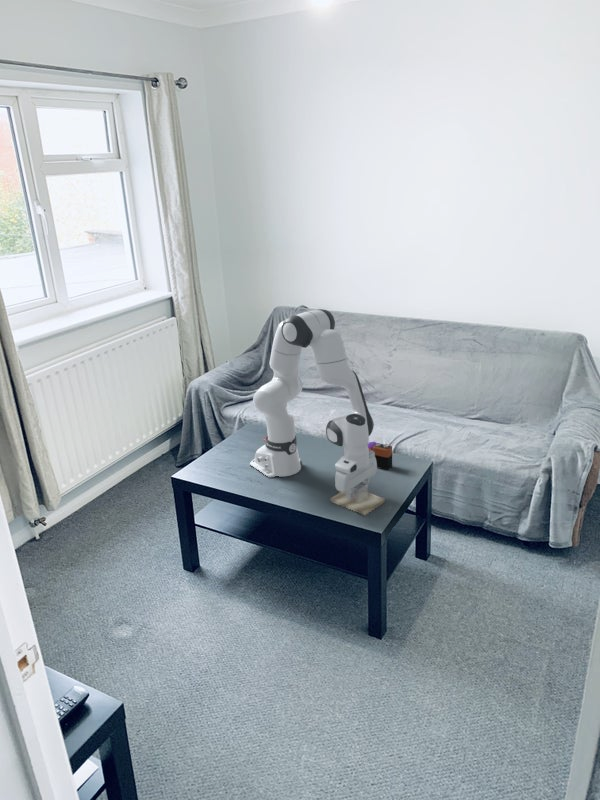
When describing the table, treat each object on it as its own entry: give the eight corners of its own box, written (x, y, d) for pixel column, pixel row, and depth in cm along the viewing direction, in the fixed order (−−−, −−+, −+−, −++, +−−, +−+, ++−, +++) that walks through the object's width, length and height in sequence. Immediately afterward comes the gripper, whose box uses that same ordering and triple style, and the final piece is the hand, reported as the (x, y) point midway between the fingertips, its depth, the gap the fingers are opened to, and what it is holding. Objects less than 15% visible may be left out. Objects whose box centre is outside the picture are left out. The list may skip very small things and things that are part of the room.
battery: (388, 470, 247) (387, 448, 244) (372, 467, 251) (372, 444, 247) (392, 466, 251) (392, 443, 247) (377, 462, 254) (377, 440, 251)
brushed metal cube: (347, 499, 226) (347, 485, 223) (356, 493, 229) (356, 479, 227) (358, 503, 222) (358, 489, 220) (367, 498, 226) (367, 483, 224)
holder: (330, 501, 227) (329, 487, 225) (350, 488, 235) (350, 475, 233) (365, 515, 217) (364, 501, 215) (385, 501, 225) (385, 488, 223)
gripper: (367, 446, 229) (367, 479, 234) (331, 466, 215) (333, 501, 220) (381, 450, 225) (381, 484, 230) (345, 472, 211) (346, 507, 216)
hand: (357, 492), depth 225 cm, fingers open, 8 cm apart
